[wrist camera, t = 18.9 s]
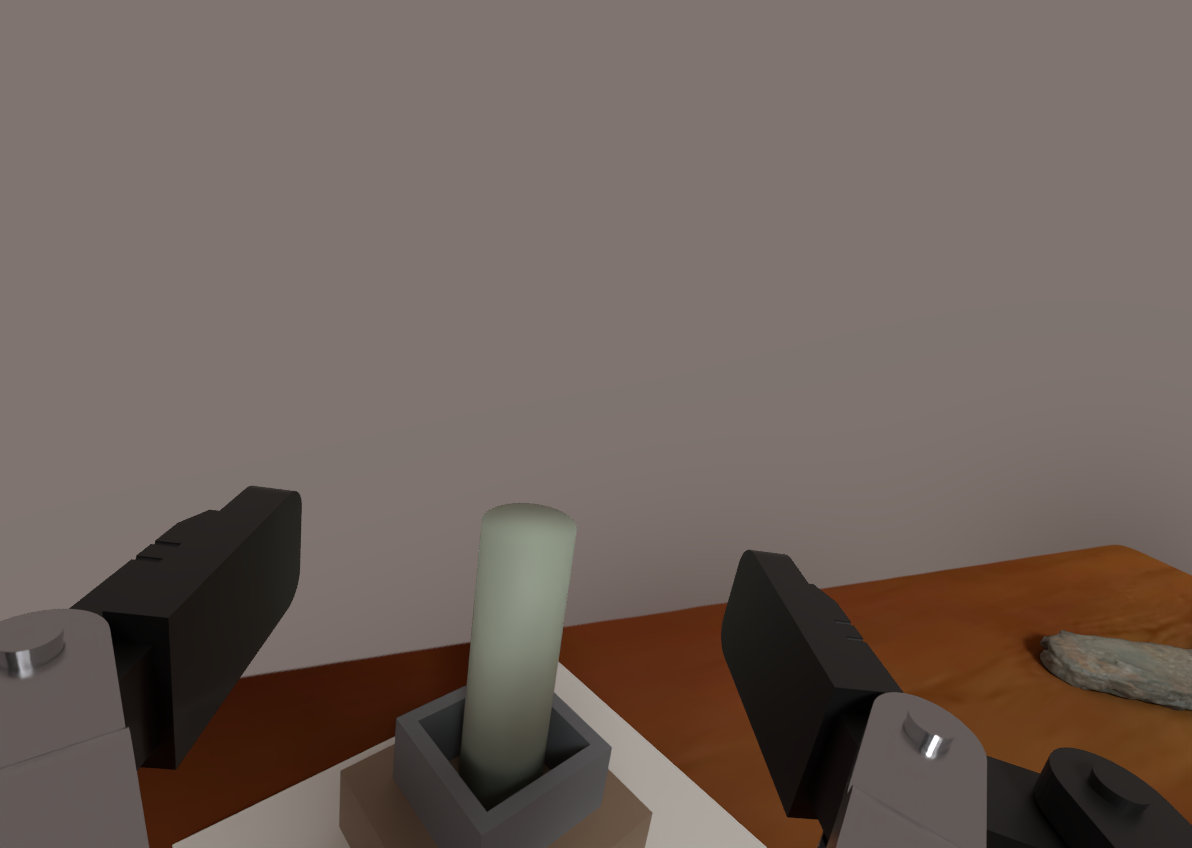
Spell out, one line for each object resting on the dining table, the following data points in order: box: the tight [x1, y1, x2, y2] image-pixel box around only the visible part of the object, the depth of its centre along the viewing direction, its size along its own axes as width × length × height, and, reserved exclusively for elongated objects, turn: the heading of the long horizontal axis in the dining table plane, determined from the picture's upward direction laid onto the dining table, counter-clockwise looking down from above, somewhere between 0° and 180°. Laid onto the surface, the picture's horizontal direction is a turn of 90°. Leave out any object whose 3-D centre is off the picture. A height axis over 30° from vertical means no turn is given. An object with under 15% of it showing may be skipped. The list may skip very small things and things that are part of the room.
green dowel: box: [459, 503, 577, 812], centre depth 30 cm, size 4×4×16 cm
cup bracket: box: [172, 662, 767, 848], centre depth 32 cm, size 26×20×10 cm
